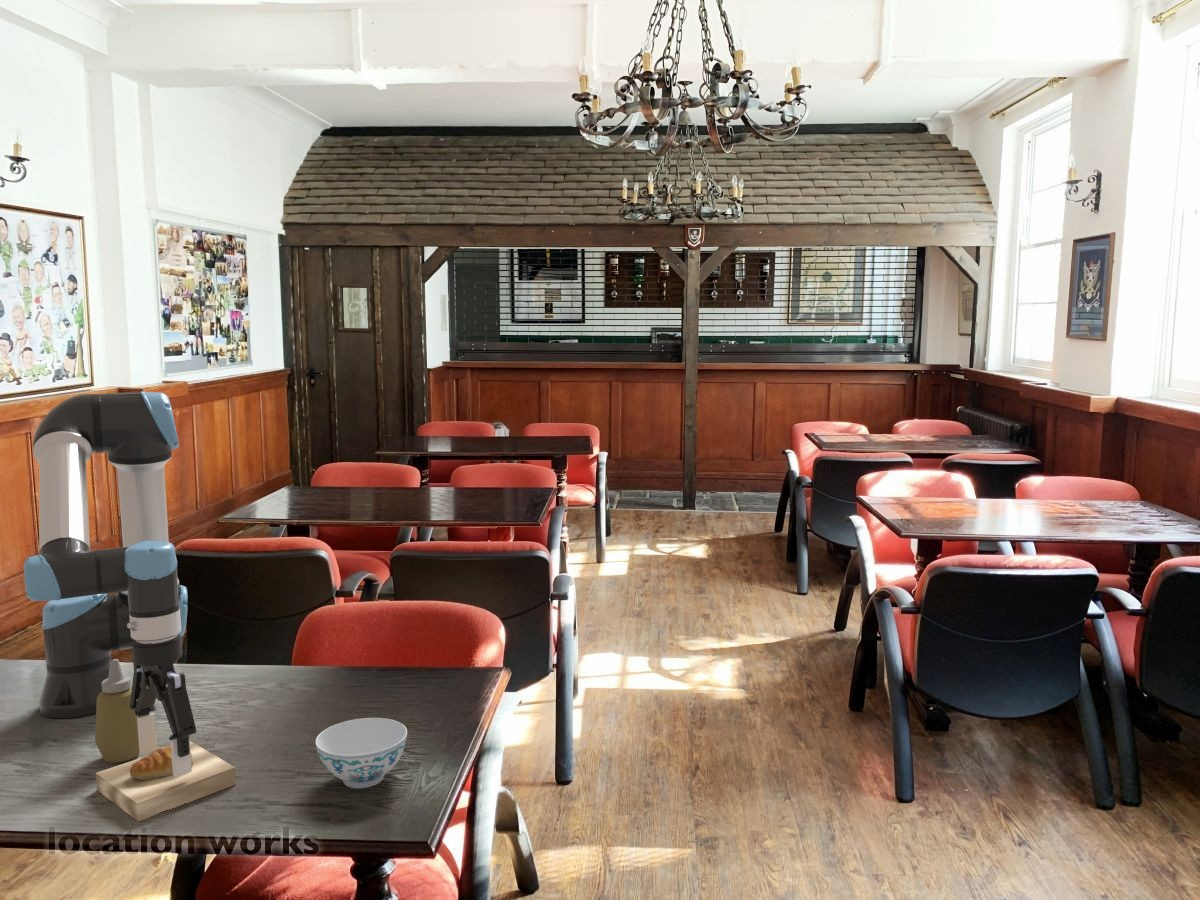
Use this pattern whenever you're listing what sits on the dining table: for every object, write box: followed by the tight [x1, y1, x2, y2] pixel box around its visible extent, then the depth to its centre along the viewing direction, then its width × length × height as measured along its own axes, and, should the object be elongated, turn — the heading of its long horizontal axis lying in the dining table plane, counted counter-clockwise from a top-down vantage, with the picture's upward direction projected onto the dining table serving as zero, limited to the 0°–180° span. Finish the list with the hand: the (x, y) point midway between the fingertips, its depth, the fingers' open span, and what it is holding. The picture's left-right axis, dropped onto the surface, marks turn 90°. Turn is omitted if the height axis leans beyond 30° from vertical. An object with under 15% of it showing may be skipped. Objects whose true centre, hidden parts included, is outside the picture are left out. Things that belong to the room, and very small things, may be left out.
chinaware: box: [315, 717, 408, 789], centre depth 158 cm, size 15×15×8 cm
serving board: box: [95, 740, 237, 822], centre depth 156 cm, size 16×16×3 cm
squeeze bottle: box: [94, 658, 141, 764], centre depth 167 cm, size 8×8×18 cm
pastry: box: [130, 745, 194, 781], centre depth 156 cm, size 9×7×4 cm
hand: (165, 762), depth 156 cm, fingers open, 12 cm apart
